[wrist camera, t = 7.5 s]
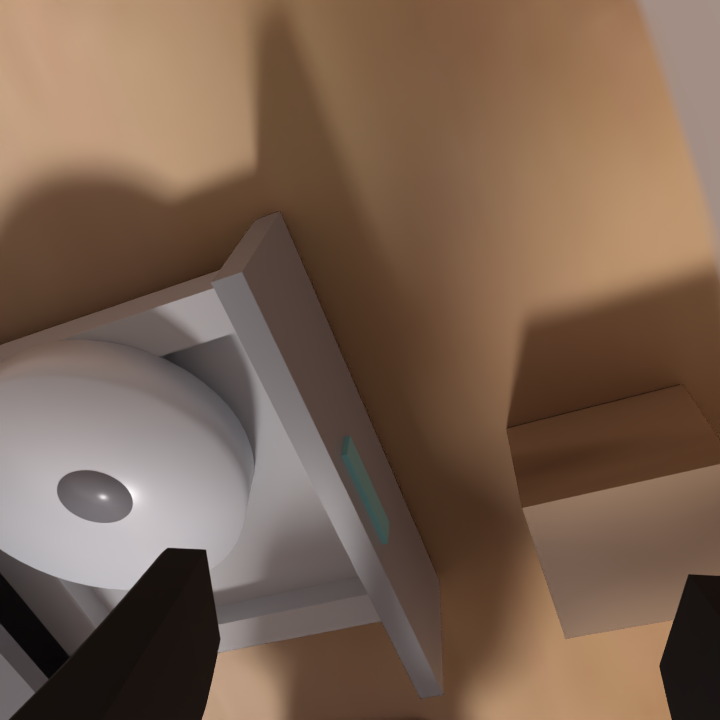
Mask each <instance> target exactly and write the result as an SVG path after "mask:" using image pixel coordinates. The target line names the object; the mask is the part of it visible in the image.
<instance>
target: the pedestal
mask: <svg viewBox="0 0 720 720" xmlns="http://www.w3.org/2000/svg"><path fill="white" fill-rule="evenodd" d="M507 434H508V439H509V444H510V449H511V454H512V460H513V465H514V470H515V475H516V480H517V485H518V490H519V495H520V500H521V505H522V510H523V513H524V516H525V519H526V522H527V525H528V528H529V531H530V534H531V537H532V540H533V543H534V546H535V549H536V552H537V555H538V558H539V561H540V564H541V567H542V570H543V573H544V576H545V579H546V582H547V585H548V588H549V591H550V594H551V597H552V600H553V603H554V606H555V609H556V612H557V615H558V618H559V621H560V624H561V627H562V630H563V633H564V636H565V639H567V638H573V637H579V636H585V635H590V634H596V633H602V632H607V631H613V630H619V629H625V628H630V627H636V626H642V625H648V624H653V623H659V622H665V621H670V620H674V618H675V615H676V612H677V609H678V605H679V602H680V599H681V596H682V593H683V590H684V586H685V583H686V580H687V577H688V574H695V575H714V576H720V440H719V438H718V437H717V435H716V434H715V432H714V431H713V429H712V428H711V426H710V425H709V423H708V422H707V420H706V419H705V417H704V416H703V414H702V413H701V411H700V410H699V408H698V407H697V405H696V404H695V402H694V401H693V399H692V397H691V396H690V394H689V393H688V391H687V390H686V388H685V387H684V385H683V384H682V385H678V386H674V387H670V388H666V389H662V390H658V391H654V392H650V393H646V394H642V395H638V396H634V397H630V398H626V399H622V400H618V401H614V402H610V403H606V404H602V405H598V406H594V407H590V408H587V409H583V410H579V411H575V412H571V413H567V414H563V415H559V416H555V417H551V418H547V419H543V420H539V421H535V422H531V423H527V424H523V425H519V426H515V427H511V428H507Z"/></svg>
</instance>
